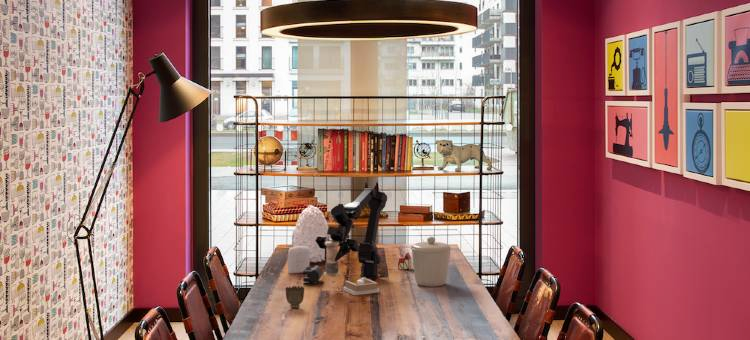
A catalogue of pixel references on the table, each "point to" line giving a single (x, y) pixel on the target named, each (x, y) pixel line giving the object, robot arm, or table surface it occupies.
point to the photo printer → (298, 259)
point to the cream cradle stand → (361, 287)
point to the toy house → (404, 262)
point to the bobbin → (331, 259)
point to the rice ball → (311, 232)
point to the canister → (430, 262)
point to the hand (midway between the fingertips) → (330, 260)
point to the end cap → (312, 275)
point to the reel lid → (361, 281)
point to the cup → (294, 296)
